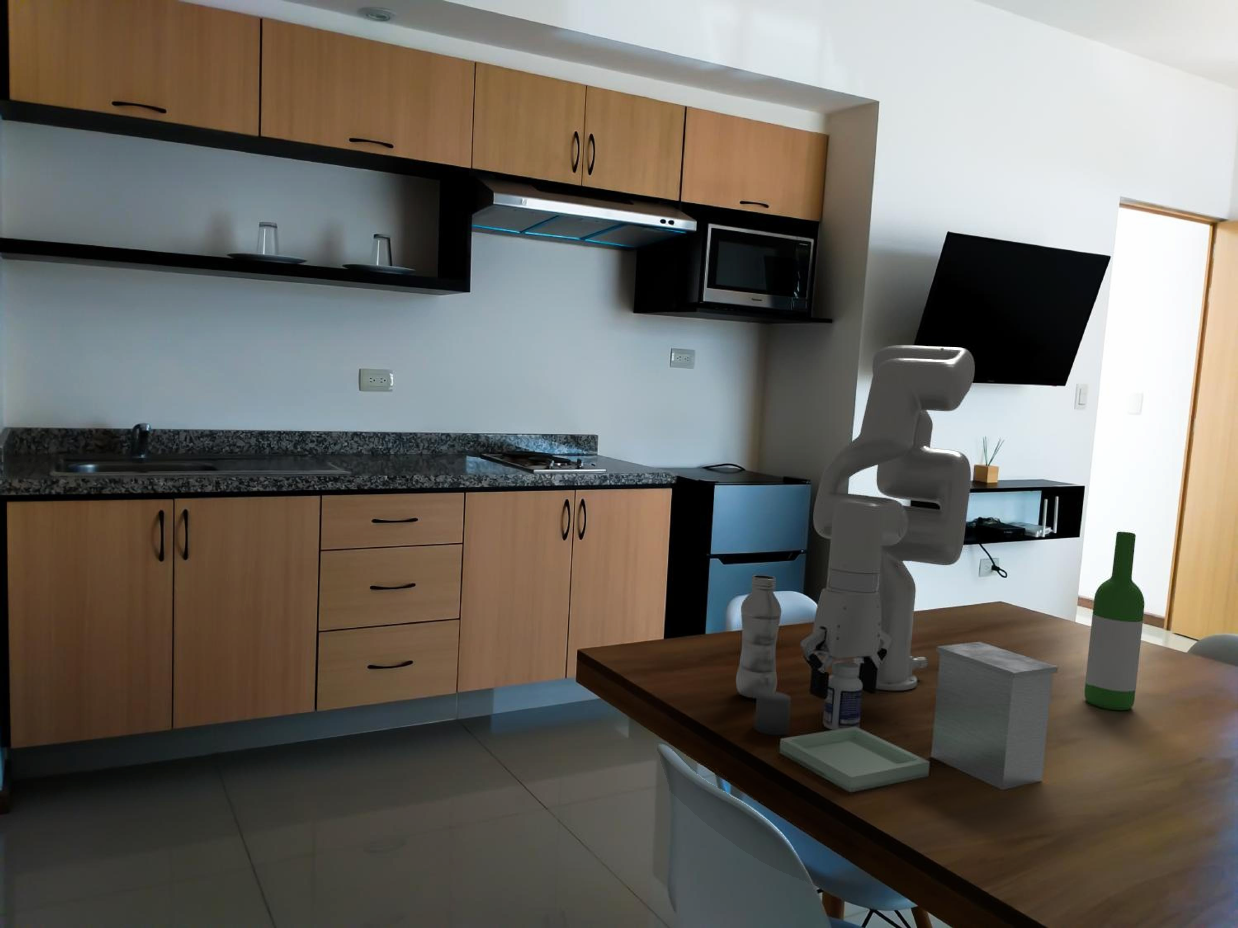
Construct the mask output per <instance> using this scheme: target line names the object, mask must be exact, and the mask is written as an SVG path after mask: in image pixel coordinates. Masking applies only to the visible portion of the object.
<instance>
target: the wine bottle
mask: <svg viewBox="0 0 1238 928" xmlns="http://www.w3.org/2000/svg"><path fill="white" fill-rule="evenodd" d="M1135 546H1136V534H1135V533H1134V532H1129V531H1117V532H1116V535H1115V546H1114V553H1113V561H1112V570H1111V571H1112V572H1111V576H1110V578H1108V579H1107V580H1105V581H1103V582H1102V583H1101V584H1100V585H1099V586H1098V587H1097V589H1096V591H1095V593H1094V597H1093V608H1092V616H1091V625H1090V634H1089V645H1088V653H1087V662H1086V673H1085V684H1084V698H1085V700H1086V701H1087V702H1088V703H1090V704H1091V705H1093V706H1095V707H1099V708H1102V709H1106V710H1110V711H1111V710H1112V711H1127V710H1130V709H1132V708H1133V706H1134V705H1135V699H1136V698H1135V697H1136V691H1137V690H1136V689H1137V683H1138V681H1137V680H1138V672H1139V663H1140V662H1139V661H1140V651H1141V643H1142V633H1143V624H1144V623H1143V622H1144V612H1145V598H1144V595H1143V592H1142V590H1141V589H1140V587H1139V586H1138V585H1137V584H1136V583H1135V582H1134V581H1133V579H1132V578H1133V577H1132V576H1133V568H1134V558H1135Z"/></svg>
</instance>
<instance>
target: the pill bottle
mask: <svg viewBox="0 0 1238 928" xmlns="http://www.w3.org/2000/svg"><path fill="white" fill-rule="evenodd" d="M831 665H832V666H831V672H832V673H833V674H831V675H829V683H828V695H827V698H826V699H824V705H823V706H824V707H823V721H822V723H823V725H824V727H825V728H827V729H828V730H830V731H832V730H838V729H844V728H850V727H857V728H859V729H860V724H861V713H862V712H861V710H862V709H861V708H862V697H863V695H862V694H863V690H862V686H863V685H862V682H861V680H860V679H858V678H857V676H858V675H859V665H858V664H856V663H854V661H848V660H835V661H832V663H831Z"/></svg>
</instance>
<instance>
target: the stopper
mask: <svg viewBox="0 0 1238 928" xmlns="http://www.w3.org/2000/svg"><path fill="white" fill-rule="evenodd" d="M755 702H756V703H755V714H754V715H755V717H754V729H755V730H756V731H757V732H759V733H761V734H764V735H769V736H785V735H787V734H788V733H789V729H790V718H791V717H790V716H791V704H792V703H791V702H792V698H791V696H790V695H788V694H787V693H782V692H779V691H778V692H777V691H775V692H773V691H764V692H760V693H758V694H757V699H756V701H755Z"/></svg>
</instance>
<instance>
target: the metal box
mask: <svg viewBox="0 0 1238 928" xmlns="http://www.w3.org/2000/svg"><path fill="white" fill-rule="evenodd" d="M935 652H936V653H938V654H940V655H939V665H938V673H937V674H938V676H937V687H936V696H935V697H936V698H935V708H934V710H935V711H934V721H933V731H932V740H931V741H932V743H931V753H930V757H931V758H933V759H935V760H937V761H939V762H941V763H944V764H946V765H948V766H949V767H953V768H955V769H957V770H958V771H961V772H963V773H965V774H967V775H969V776H972V777H974V778H976V779H978V780H980V781H982V782H985V783H987V784H989V785H991V786H993V787H995V788H997V789H998V790H1001V791H1002V790H1007V789H1012V788H1016V787H1020V786H1026V785H1030V784H1034V783H1038V782H1042V781H1043V773H1044V764H1045V763H1044V762H1045V753H1046V742H1047V734H1048V733H1047V732H1048V723H1049V714H1050V713H1049V712H1050V703H1051V694H1052V693H1051V692H1052V684H1053V682H1052V681H1053V674H1056V673H1057V674H1058V672H1059V671H1058V669H1059V666H1057V665H1053V664H1051V663H1047V662H1044V661H1042V660H1039V659H1036V658H1032V657H1028V656H1026V655H1022V654H1020V653H1015V652H1013V651H1010V650H1007V649H1005V648H1003V649H1002V648H1001V647H997V646H993V645H991V644H988V643H984V642H981V641H977V642H976V641H974V642H965V643H956V644H955V643H954V644H948V645H939V646H938V645H937V646H936V650H935Z"/></svg>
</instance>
